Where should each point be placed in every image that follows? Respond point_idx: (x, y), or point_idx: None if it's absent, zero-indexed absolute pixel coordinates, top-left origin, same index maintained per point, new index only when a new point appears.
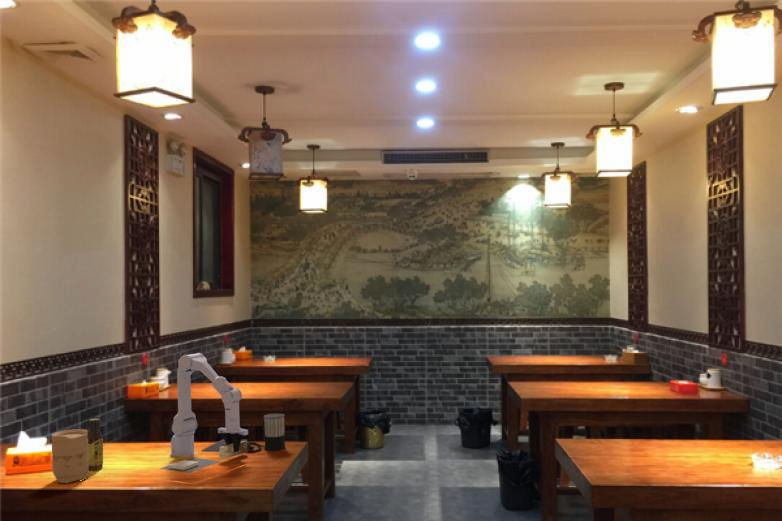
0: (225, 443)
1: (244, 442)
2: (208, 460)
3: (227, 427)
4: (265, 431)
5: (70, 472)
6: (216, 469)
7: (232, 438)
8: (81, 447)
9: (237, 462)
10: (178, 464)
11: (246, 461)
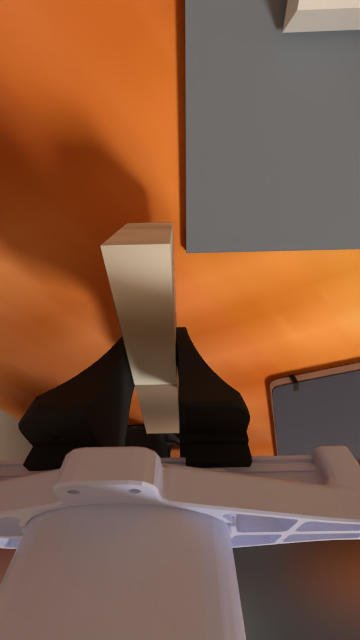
0: (335, 437)
1: (144, 420)
2: (281, 232)
3: (111, 601)
4: None
5: None
6: (66, 51)
7: (90, 391)
8: None
9: (107, 286)
10: None
11: (84, 316)
